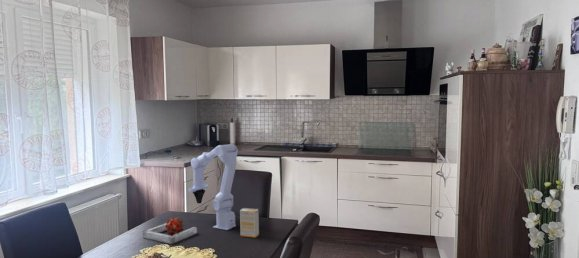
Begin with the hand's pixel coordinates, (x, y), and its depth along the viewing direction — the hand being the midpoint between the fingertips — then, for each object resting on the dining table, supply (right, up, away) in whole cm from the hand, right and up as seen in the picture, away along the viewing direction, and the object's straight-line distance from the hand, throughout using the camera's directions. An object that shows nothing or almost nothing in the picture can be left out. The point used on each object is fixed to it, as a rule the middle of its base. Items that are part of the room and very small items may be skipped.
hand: (199, 203), depth 215 cm
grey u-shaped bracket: (-8, -11, -25) cm, 28 cm away
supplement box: (+31, -11, -26) cm, 42 cm away
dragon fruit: (-7, -11, -23) cm, 27 cm away
